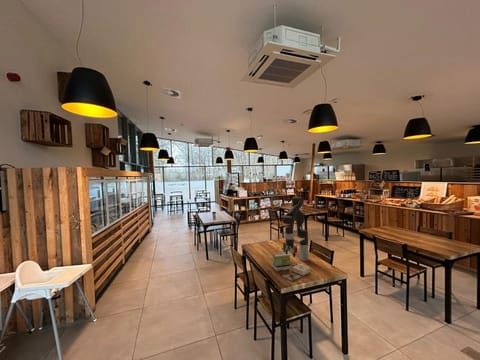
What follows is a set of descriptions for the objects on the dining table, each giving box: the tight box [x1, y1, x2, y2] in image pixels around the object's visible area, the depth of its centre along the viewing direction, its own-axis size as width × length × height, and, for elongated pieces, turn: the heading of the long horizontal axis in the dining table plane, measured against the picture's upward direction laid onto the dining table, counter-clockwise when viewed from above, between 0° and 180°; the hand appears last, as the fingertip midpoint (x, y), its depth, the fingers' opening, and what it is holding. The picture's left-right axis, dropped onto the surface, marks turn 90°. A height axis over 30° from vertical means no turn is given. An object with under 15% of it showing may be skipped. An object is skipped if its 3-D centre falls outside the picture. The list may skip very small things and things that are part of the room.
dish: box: [292, 263, 311, 277], centre depth 194 cm, size 11×11×5 cm
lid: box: [281, 268, 302, 283], centre depth 185 cm, size 12×12×7 cm
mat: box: [280, 275, 304, 284], centre depth 185 cm, size 15×15×1 cm
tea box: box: [272, 251, 291, 272], centre depth 205 cm, size 15×10×15 cm, turn 101°
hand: (290, 255), depth 185 cm, fingers open, 8 cm apart
